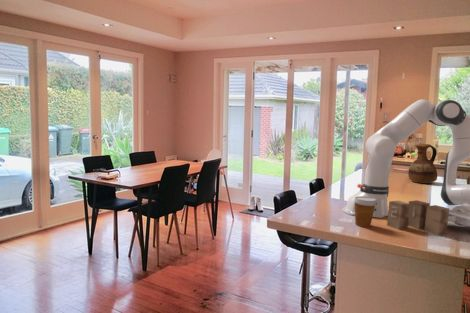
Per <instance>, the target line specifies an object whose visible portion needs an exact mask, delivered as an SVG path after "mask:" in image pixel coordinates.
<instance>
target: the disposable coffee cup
mask: <svg viewBox="0 0 470 313" xmlns="http://www.w3.org/2000/svg"><path fill="white" fill-rule="evenodd" d="M354 203H355V215H354V218H355V219H354V220H355V225H356V226H357V227H361V228H370V227H371V225H372V221H373V218H374V217H373V212H374V208H375V205H376V199H374V198H371V197H364V196H357V197H355V199H354Z"/></svg>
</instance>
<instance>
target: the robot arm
mask: <svg viewBox="0 0 470 313" xmlns="http://www.w3.org/2000/svg"><path fill="white" fill-rule="evenodd" d="M427 122H429V123H431V124H433V125H435V126H437V127H445V126H448V127H449V128H450V129H451V132H452V147H451V148H450V150H449V151H448V152H447V153H446V157H445V162H444V172H443V181H442V186H441V191H440V198H441V200H442V201H443V202H444V203H445V204H446V205H448V206H454V207H453V208H452V209H449V215H448V222H452V223H453V224H456V226H459V227H463V226H464V227H469V228H470V184H469V183H468V184H467V183H466V184H457V183H456V182H457V172H458V167H459V165H460V164H461V163H463V162H464V161H466V160H469V159H470V114H467V113H466V111H465V109H463V107H462V105H461V104H460V103H459V102H458V101H457V100H452V99H447V100H443V101H441V102H439V103H437V104H433V103H432V102H430V101H429V100H427V99H424V98H423V99H421V98H420V99H418V100H416V101H415V102H413V103H411V104H410V105H409V106H407V107H406V108H405V109H404V110H402V111H401V112H400V113H399V114H398V115H396V117H395V118H393V119H392V120H391V121H390V122H387V124H386V125H384V126H383V127H382V128H380V129H378V130H377V131H375V133H373V134H372V135H371V136H370V137H368V138H367V140H366V141H365V150H366V151H367V153H368V154H369V157H368V159H367V160H368V161H367V165H366V168H365V174H364V183H363V184H361V183H357V185H356V186H357V188H358V189H359V191H358V192H356V193H355V194H353V195H351V196H349V198H348V199H347V203H346V206H341V211H342V212H343V213H345V214H347V215H351V216H355V203H354V199H355V197H357V196H364V197H371V198H374V199H376V205H375V208H374V212H373V217H372V218H381V219H382V218H383V219H384V218H385V217H388V210H389V204H388V197H389V192H390V190H389V189H390V187H389V186H390V185H389V183H390V182H389V179H390V171H391V166H392V164H393V161H394V160H393V159H394V157H395V156H394V155H395V153H396V151H397V145H398V144H400V143H401V142H403V141H405V140H407V139H408V138H409V137H410V136H411V135H413V133H415V132H416V131H417V130H418V129H420V128H421V127H422V126H423V125H424V124H426V123H427Z"/></svg>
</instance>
